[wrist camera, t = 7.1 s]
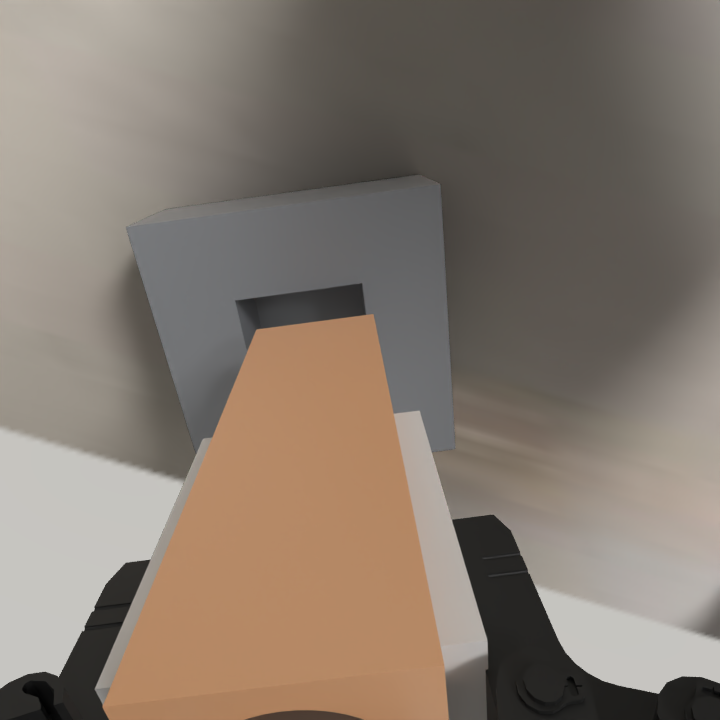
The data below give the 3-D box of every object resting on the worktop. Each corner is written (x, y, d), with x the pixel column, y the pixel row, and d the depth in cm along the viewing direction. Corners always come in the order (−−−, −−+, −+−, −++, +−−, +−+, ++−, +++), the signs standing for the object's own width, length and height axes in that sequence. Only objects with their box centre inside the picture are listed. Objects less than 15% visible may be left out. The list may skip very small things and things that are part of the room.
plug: (256, 329, 18) (61, 805, 5) (373, 313, 18) (463, 757, 5) (278, 429, 20) (172, 971, 7) (385, 415, 20) (475, 936, 7)
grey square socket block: (165, 209, 24) (125, 226, 19) (419, 174, 24) (440, 183, 19) (224, 427, 29) (204, 482, 24) (435, 398, 29) (455, 449, 24)
